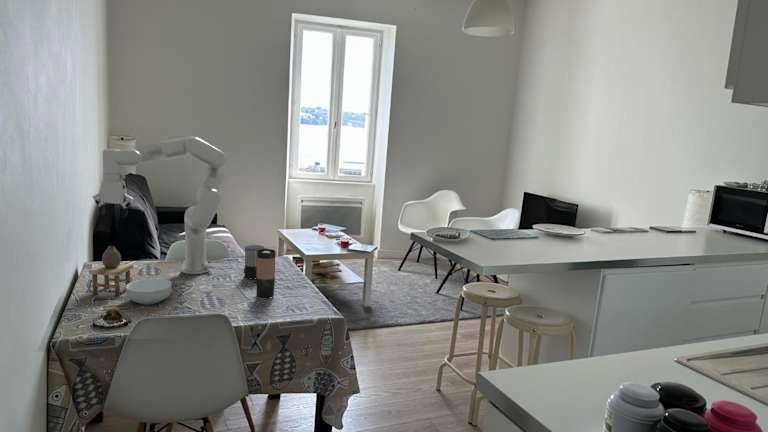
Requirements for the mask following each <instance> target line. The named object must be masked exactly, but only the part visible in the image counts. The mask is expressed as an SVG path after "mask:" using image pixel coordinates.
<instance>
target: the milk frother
mask: <svg viewBox="0 0 768 432" xmlns="http://www.w3.org/2000/svg"><path fill="white" fill-rule="evenodd" d="M261 249H268V248H265V246H264V245H260V244H258V245H257V244H249V245H245V246H244V268H243V271H244V275H245V276H244V275H243V278H244V277H245V279H246V278H251V279H250V280H256V279H255V278H256V275H257V251H258V250H261Z"/></svg>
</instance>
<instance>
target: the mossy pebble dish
mask: <svg viewBox="0 0 768 432" xmlns="http://www.w3.org/2000/svg"><path fill="white" fill-rule="evenodd" d="M101 319H103V320H104V321H105V322H106V323H107V324H114V323H118V322H123V319H124V320H126V322H125V323H122V324H119V325H120V326H123V325H124V324H126V325H127V324H128V323H129V322H130V323H131V316H129V315H127V314H123V313H121V309H120V308H119V307H116V306H111V307H109V308H108V309H106V311H105V314H102V313H101V314H100V315H99V316H98V317H96V318H95V319H93V322H92V325H93V324H94V325H93V326H95V325H96V326H98V327H101V325H97V324H96V322H97V321H98V320H101ZM130 323H129V324H130ZM119 325H113V326H114V327H119ZM104 327H105V328H113V327H112V326H104ZM104 327H103V328H104Z"/></svg>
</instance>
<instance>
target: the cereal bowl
mask: <svg viewBox="0 0 768 432" xmlns="http://www.w3.org/2000/svg"><path fill="white" fill-rule="evenodd" d="M125 292H126V295H127V298H128V299H130V301H132V302H135V303H138V304H141V305H154V304H155V305H156V304H158V303H159V302H160V301H163V300H164V299H167V298H168V297H169V295H170V294H171V292H172V282H171V281H170V280H168V279H163V278H144V279H138V280H133V281H130V283H129V284H127V285H126V284H125Z"/></svg>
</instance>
